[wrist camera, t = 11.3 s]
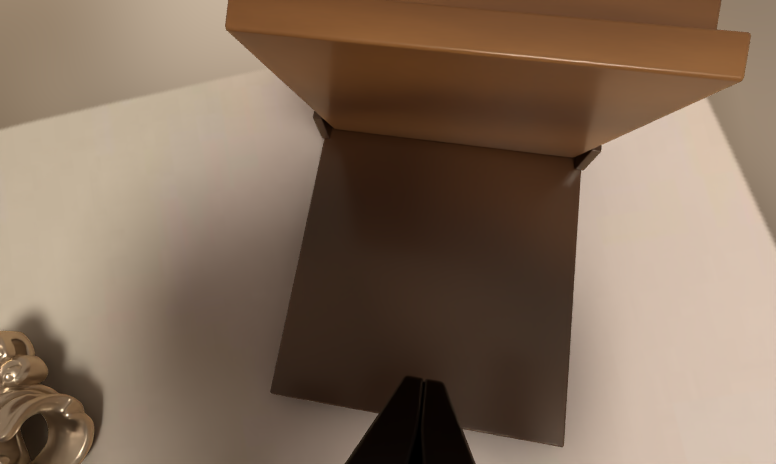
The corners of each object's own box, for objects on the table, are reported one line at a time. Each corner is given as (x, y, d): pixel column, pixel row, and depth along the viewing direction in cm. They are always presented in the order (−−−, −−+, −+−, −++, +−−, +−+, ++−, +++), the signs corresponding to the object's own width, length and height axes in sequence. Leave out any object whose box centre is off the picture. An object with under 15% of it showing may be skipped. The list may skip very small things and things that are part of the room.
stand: (559, 443, 18) (624, 487, 13) (274, 391, 20) (214, 409, 14) (579, 134, 22) (638, 57, 16) (334, 106, 23) (307, 24, 17)
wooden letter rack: (745, 81, 9) (769, -62, 9) (223, 29, 10) (238, -98, 10) (573, 158, 20) (583, 95, 20) (333, 129, 21) (341, 69, 21)
